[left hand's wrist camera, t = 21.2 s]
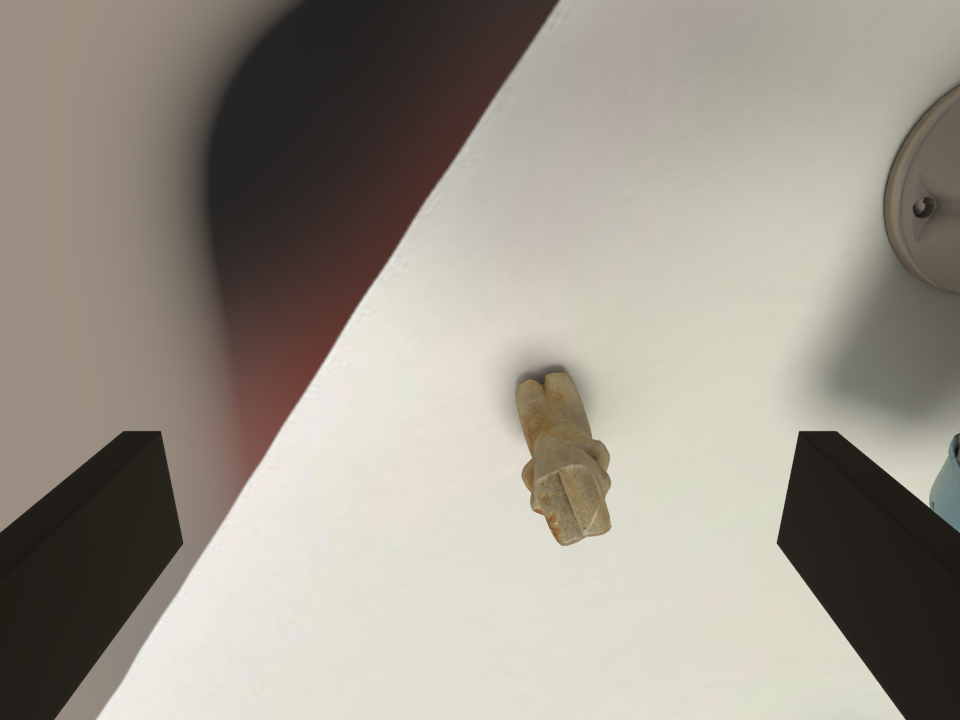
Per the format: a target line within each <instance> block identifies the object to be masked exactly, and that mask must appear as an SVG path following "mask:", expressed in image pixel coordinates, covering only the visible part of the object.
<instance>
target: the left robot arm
mask: <svg viewBox="0 0 960 720" xmlns="http://www.w3.org/2000/svg"><path fill="white" fill-rule="evenodd" d="M885 221H886V228H887V232H888V236H889V239H890V242H891V245H892V247H893V249H894V251H895V253H896V255H897V256H898V258H899V259H900V261H901V262H902V263H903V265H904V266H905V267H906V268H907V269H908V270H909V271H910V272H911V273H912V274H913V275H915V276H916V277H918V278H919V279H920V280H922V281H924V282H926V283H928V284H929V285H932V286H934V287H937V288H940V289H943V290H946V291H949V292H952V293H955V294H959V295H960V85H959V86H958V87H956V88H955V89H953V90H952V91H950V92H949V93H948V94H947V95H945V96H944V97H943V98H942V99H940V100H939V101H938V102H937V103H936V104H935V105H934V106H933V107H932V108H931V109H930V110H929V111H928V112H927V113H926V114H925V115H924V116H923V117H922V118H921V120H920V121H919V122H918V123H917V125H916V126H915V127H914V129H913V130H912V131H911V133H910V134H909V136H908V137H907V139H906V141H905V142H904V144H903V146H902V148H901V149H900V151H899V153H898V156H897V158H896V160H895V162H894V165H893V168H892V171H891V173H890V177H889V181H888V185H887V190H886V196H885ZM929 504H930V508H931V509H930V508H929V507H928V506H927V505H925V504H924V503H923V502H922V501H921V500H919V499H918V498H917V497H916V496H915V495H913V494H912V493H911V492H910V491H908V490H907V489H906V488H905V487H904V486H902V485H901V484H900V483H899V482H898V481H896V480H895V479H894V478H893V477H891V476H890V475H889V474H888V473H887V472H885V471H884V470H883V469H882V468H881V467H879V466H878V465H877V464H876V463H874V462H873V461H872V460H871V459H870V458H868V457H867V456H866V455H865V454H864V453H862V452H861V451H860V450H859V449H857V448H856V447H855V446H854V445H853V444H851V443H850V442H849V441H848V440H847V439H845V438H844V437H843V436H842V435H840V434H839V433H838V432H837V431H799V434H798V439H797V444H796V449H795V454H794V459H793V464H792V469H791V474H790V479H789V484H788V489H787V494H786V499H785V504H784V509H783V514H782V519H781V524H780V529H779V534H778V539H777V544H778V546H779V547H780V548H781V550H782V551H783V553H784V554H785V555H786V557H787V558H788V559H789V561H790V562H791V563H792V565H793V566H794V568H795V569H796V570H797V572H798V573H799V574H800V576H801V577H802V579H803V580H804V581H805V583H806V584H807V585H808V587H809V588H810V589H811V591H812V592H813V594H814V595H815V596H816V598H817V599H818V600H819V602H820V603H821V604H822V606H823V607H824V609H825V610H826V611H827V613H828V614H829V615H830V617H831V618H832V620H833V621H834V622H835V624H836V625H837V626H838V628H839V629H840V630H841V632H842V633H843V635H844V636H845V637H846V639H847V640H848V641H849V643H850V644H851V645H852V647H853V648H854V650H855V651H856V652H857V654H858V655H859V656H860V658H861V659H862V661H863V662H864V663H865V665H866V666H867V667H868V669H869V670H870V671H871V673H872V674H873V676H874V677H875V678H876V680H877V681H878V682H879V684H880V685H881V686H882V688H883V689H884V691H885V692H886V693H887V695H888V696H889V697H890V699H891V700H892V702H893V703H894V704H895V706H896V707H897V708H898V710H899V711H900V712H901V714H902V715H903V717H904V718H905V719H906V720H960V433H959V434H957V435H955V436H954V438H953V439H952V441H951V443H950V447H949V456H948V458H947V459H946V461H945V463H944V465H943V467H942V469H941V471H940V472H939V474H938V476H937V478H936V480H935V482H934V484H933V486H932V488H931V491H930V497H929ZM182 544H183V539H182V534H181V530H180V524H179V520H178V515H177V509H176V505H175V499H174V495H173V490H172V484H171V479H170V474H169V470H168V465H167V459H166V454H165V449H164V445H163V439H162V435H161V431H123V432H122V433H121V434H120V435H118V436H117V437H116V438H115V439H114V440H112V441H111V442H110V443H109V444H107V445H106V446H105V447H104V448H103V449H101V450H100V451H99V452H98V453H96V454H95V455H94V456H93V457H92V458H90V459H89V460H88V461H87V462H86V463H84V464H83V465H82V466H81V467H80V468H78V469H77V470H76V471H75V472H73V473H72V474H71V475H70V476H69V477H67V478H66V479H65V480H64V481H63V482H61V483H60V484H59V485H58V486H56V487H55V488H54V489H53V490H52V491H50V492H49V493H48V494H47V495H45V496H44V497H43V498H42V499H41V500H39V501H38V502H37V503H36V504H35V505H33V506H32V507H31V508H30V509H28V510H27V511H26V512H25V513H24V514H22V515H21V516H20V517H19V518H18V519H16V520H15V521H14V522H13V523H11V524H10V525H9V526H8V527H7V528H5V529H4V530H3V531H2V532H1V533H0V720H54V719H55V718H56V716H57V715H58V714H59V712H60V711H61V710H62V708H63V707H64V706H65V704H66V703H67V701H68V700H69V699H70V697H71V696H72V695H73V693H74V692H75V690H76V689H77V688H78V686H79V685H80V684H81V682H82V681H83V680H84V678H85V677H86V676H87V674H88V673H89V671H90V670H91V669H92V667H93V666H94V665H95V663H96V662H97V660H98V659H99V658H100V656H101V655H102V654H103V652H104V651H105V650H106V648H107V647H108V645H109V644H110V643H111V641H112V640H113V639H114V637H115V636H116V635H117V633H118V632H119V630H120V629H121V628H122V626H123V625H124V624H125V622H126V621H127V619H128V618H129V617H130V615H131V614H132V613H133V611H134V610H135V609H136V607H137V606H138V604H139V603H140V602H141V600H142V599H143V598H144V596H145V595H146V594H147V592H148V591H149V589H150V588H151V587H152V585H153V584H154V583H155V581H156V580H157V578H158V577H159V576H160V574H161V573H162V572H163V570H164V569H165V568H166V566H167V565H168V563H169V562H170V561H171V559H172V558H173V557H174V555H175V554H176V552H177V551H178V550H179V548H180V547H181V546H182Z"/></svg>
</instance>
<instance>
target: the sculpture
mask: <svg viewBox="0 0 960 720" xmlns="http://www.w3.org/2000/svg"><path fill="white" fill-rule="evenodd" d="M516 403H517V408H518V413H519V417H520V421H521V425H522V429H523V433H524V436H525V439H526V442H527V445H528V448H529V451H530V453H531V456H532V459H531V460H530V461H529V462H528V463H527V464H526V465H525V467H524V468H523V471H522V479H523V482H524V484H525V485H526V487H527V488H528V490H529V491H530V492H531V499H530V505H531V508H532V510H533V511H534V512H537V513H539V514H542V515H544V516H545V518H546V521H547V523H548V526H549V528H550V530H551V532H552V534H553V536H554V537H555V539H556V540H557V542H558V543H559V544H561V545H562V546H568V545H571V544H574V543H576V542H579V541H580V540H582V539H583V538H585V537H589V536H598V535H603V534H605V533H606V532H608V531H609V530H610V528H611V527H612V526H611V523H610V516H609V512H608V509H607V505H606V503H605V496H606V494H607V492H608V490H609V489H610V486H611V480H610V477H609V475H608V474H607V472H606V471H607V468H608V465H609V461H610V455H609V453H608V450H607V449H606V447H605V445H604V444H603V443H602V442H601V441H599V440H593V439H592V434H591V429H590V426H589V422H588V419H587V416H586V413H585V410H584V408H583V405H582V402H581V399H580V397H579V395H578V392H577V390H576V388H575V386H574V383H573V381H572V379H571V377H570V376H569V375H568V374H566V373H564V372H561V373H549V374H547V375H546V376H545V382H544V384H540V383H538V382H537V381H535V380H532V379H529V380H526V381H524V382H523V383H522V384H520V385H519V386H518V388H517V390H516Z"/></svg>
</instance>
